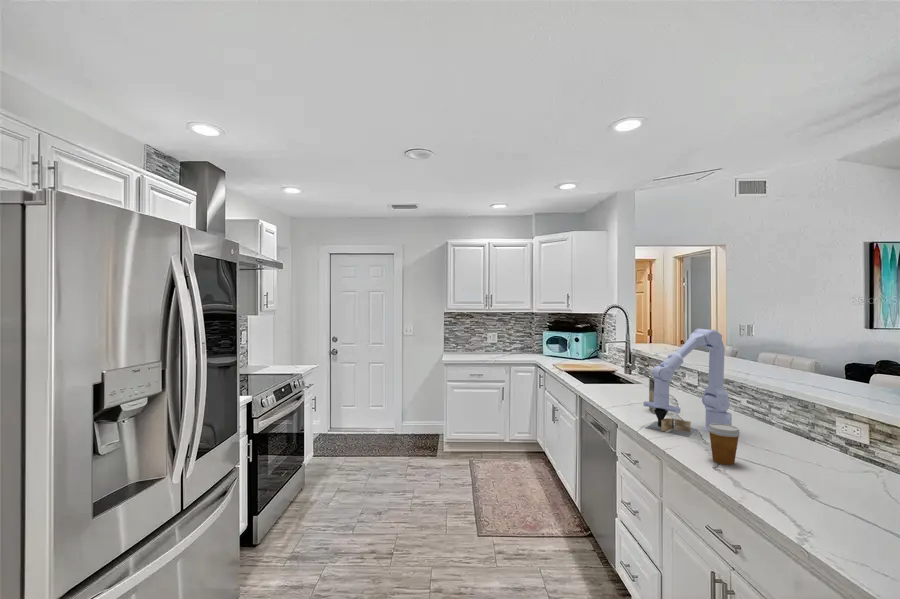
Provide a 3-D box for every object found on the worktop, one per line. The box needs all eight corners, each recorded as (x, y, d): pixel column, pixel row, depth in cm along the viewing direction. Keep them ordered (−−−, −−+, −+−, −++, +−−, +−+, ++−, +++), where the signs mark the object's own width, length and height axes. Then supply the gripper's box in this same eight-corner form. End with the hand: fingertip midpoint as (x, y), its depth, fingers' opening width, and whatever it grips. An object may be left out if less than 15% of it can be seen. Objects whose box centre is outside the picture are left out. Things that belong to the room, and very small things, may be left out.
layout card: (697, 430, 184) (697, 429, 184) (688, 438, 173) (688, 436, 173) (655, 422, 195) (655, 421, 195) (644, 429, 184) (644, 428, 184)
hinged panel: (670, 427, 185) (670, 417, 186) (674, 427, 184) (674, 417, 184) (660, 430, 181) (660, 419, 181) (664, 431, 179) (664, 420, 179)
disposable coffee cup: (737, 459, 150) (737, 425, 150) (742, 468, 141) (743, 432, 141) (705, 455, 154) (706, 421, 154) (709, 463, 145) (709, 428, 145)
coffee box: (648, 409, 220) (648, 378, 220) (661, 410, 218) (662, 379, 218) (653, 414, 211) (653, 381, 211) (667, 415, 209) (667, 382, 209)
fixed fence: (690, 431, 180) (690, 421, 180) (689, 432, 179) (689, 422, 179) (675, 428, 184) (675, 418, 184) (674, 429, 183) (674, 419, 183)
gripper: (640, 392, 185) (639, 423, 185) (675, 398, 174) (674, 432, 174) (648, 390, 190) (647, 421, 190) (682, 396, 178) (681, 429, 178)
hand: (660, 426), depth 182 cm, fingers closed
